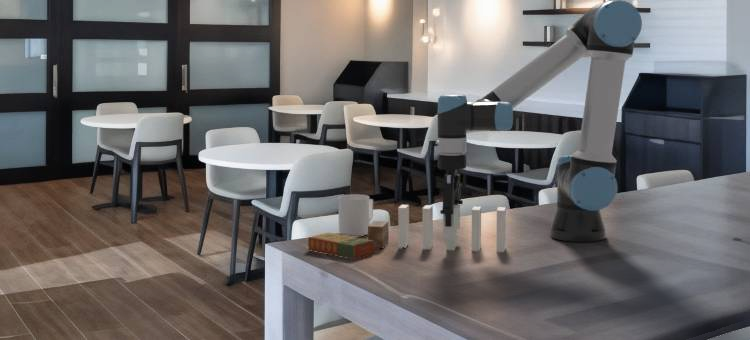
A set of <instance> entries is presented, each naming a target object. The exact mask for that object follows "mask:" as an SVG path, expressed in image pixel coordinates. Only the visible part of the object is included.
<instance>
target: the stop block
mask: <svg viewBox="0 0 750 340" xmlns="http://www.w3.org/2000/svg"><path fill="white" fill-rule="evenodd" d="M389 237H390V236H389V221H387V220H373V221H372V222H371V223H370V225H369V226H368V234H367V240H373V242H374V248H383V247H384V246H385V245H386V244H387V243H388V241H389ZM389 242H390V241H389ZM388 244H389V243H388ZM388 244H387V245H388ZM387 245H386V246H387ZM386 246H385V247H386ZM385 247H384V248H385ZM384 248H383V249H384Z"/></svg>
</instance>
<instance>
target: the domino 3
mask: <svg viewBox="0 0 750 340" xmlns="http://www.w3.org/2000/svg"><path fill="white" fill-rule="evenodd" d="M453 211H454V213H453V214H454V239H446V251H455V249H457V243H458V242H457V240H458V239H457V233H458V232H457V206H454V209H453Z"/></svg>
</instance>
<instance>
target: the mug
mask: <svg viewBox="0 0 750 340" xmlns="http://www.w3.org/2000/svg"><path fill="white" fill-rule="evenodd" d="M337 200H338V201H337V202H338V204H337V205H338V208H337V209H338V233H339V235H341V234H342V235H349V236H361V235H366V234H367V235H368V226H369V225H370V224H371V223H370V222H371V220H372V219H373V216H374V199H372V198H370V196H369V195H367V194H358V193H357V194H356V193H355V194H343V195H340V196H338V198H337ZM367 235H366V236H367Z"/></svg>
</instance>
